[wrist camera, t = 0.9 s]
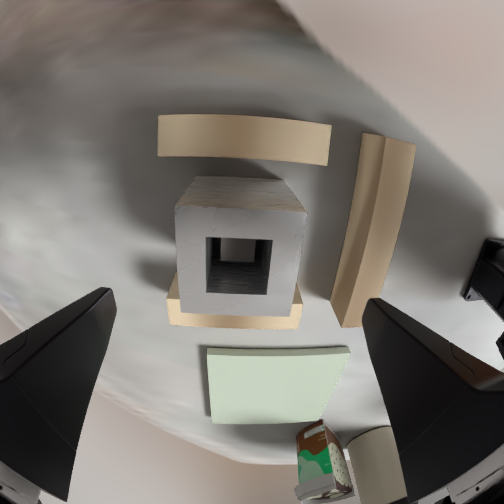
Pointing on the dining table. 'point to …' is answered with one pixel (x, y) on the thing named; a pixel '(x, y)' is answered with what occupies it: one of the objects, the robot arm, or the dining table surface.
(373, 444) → the travel mug
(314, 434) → the food container
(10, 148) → the dining table surface
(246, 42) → the dining table surface
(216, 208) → the steel collar
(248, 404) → the board
